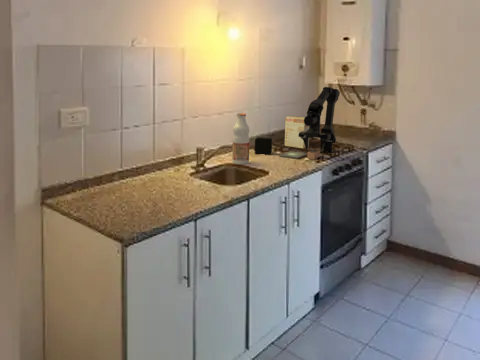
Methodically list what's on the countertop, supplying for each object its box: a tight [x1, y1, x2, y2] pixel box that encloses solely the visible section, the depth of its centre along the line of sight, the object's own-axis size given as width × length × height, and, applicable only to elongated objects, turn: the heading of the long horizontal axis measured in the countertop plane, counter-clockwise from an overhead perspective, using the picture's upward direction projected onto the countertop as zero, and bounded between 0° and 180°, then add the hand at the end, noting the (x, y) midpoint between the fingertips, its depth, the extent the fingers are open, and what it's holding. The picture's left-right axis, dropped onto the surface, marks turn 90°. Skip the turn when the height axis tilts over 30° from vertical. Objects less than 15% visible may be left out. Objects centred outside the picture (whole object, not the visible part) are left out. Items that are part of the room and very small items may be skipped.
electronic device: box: [254, 136, 273, 156], centre depth 325 cm, size 4×10×10 cm, turn 78°
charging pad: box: [278, 150, 307, 160], centre depth 322 cm, size 15×12×1 cm
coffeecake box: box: [284, 115, 310, 149], centre depth 350 cm, size 15×7×20 cm, turn 51°
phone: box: [306, 149, 321, 160], centre depth 318 cm, size 8×4×4 cm, turn 149°
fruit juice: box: [231, 112, 250, 165], centre depth 297 cm, size 9×9×28 cm
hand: (313, 149), depth 317 cm, fingers open, 9 cm apart
